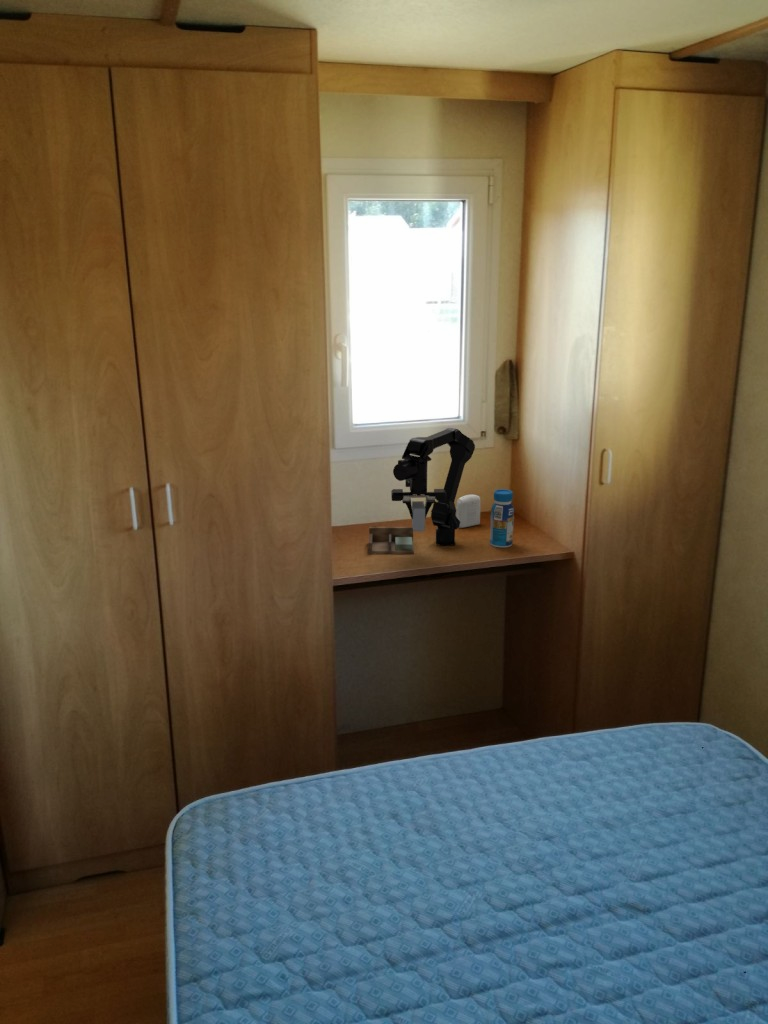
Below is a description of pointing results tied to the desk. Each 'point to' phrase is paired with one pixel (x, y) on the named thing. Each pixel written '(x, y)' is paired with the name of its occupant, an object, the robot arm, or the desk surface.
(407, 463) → the robot arm
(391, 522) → the desk surface
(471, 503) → the photo printer
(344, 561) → the desk surface
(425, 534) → the desk surface
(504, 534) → the beverage bottle
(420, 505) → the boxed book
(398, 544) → the book rack
